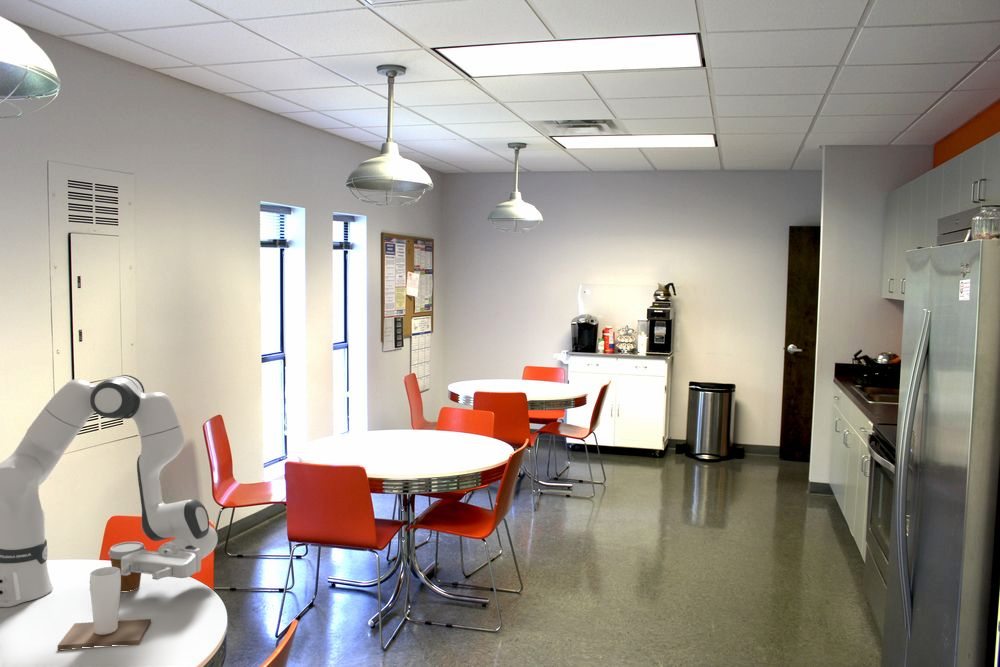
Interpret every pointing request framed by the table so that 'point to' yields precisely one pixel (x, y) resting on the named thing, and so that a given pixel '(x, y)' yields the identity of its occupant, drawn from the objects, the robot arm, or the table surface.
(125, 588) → the disposable coffee cup
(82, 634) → the walnut board
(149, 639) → the table surface
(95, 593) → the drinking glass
